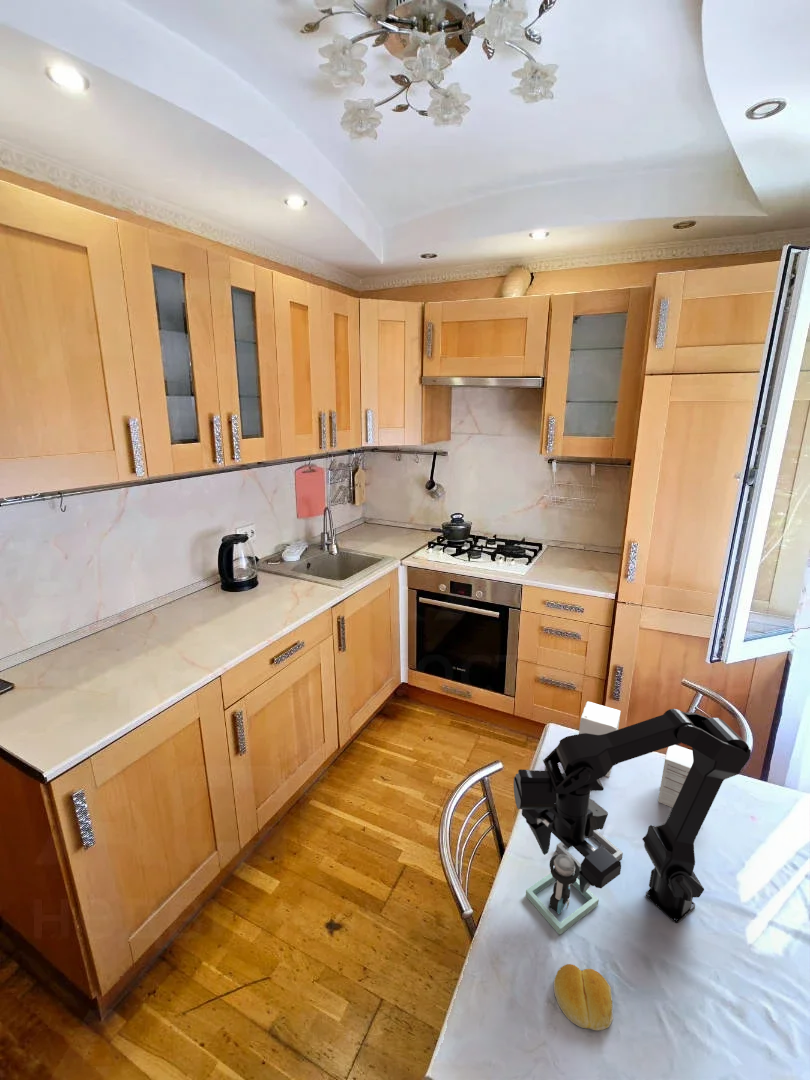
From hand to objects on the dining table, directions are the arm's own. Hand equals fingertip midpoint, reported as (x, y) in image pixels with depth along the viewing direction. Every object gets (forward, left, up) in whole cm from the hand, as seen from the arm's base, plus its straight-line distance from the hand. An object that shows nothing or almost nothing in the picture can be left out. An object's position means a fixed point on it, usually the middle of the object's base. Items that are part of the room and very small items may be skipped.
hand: (563, 871), depth 92 cm
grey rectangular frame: (+4, -13, -7) cm, 16 cm away
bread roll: (-13, +10, -8) cm, 18 cm away
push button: (0, 0, -7) cm, 7 cm away
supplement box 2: (+3, -44, -7) cm, 45 cm away
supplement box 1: (+22, -38, -7) cm, 45 cm away
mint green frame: (0, 0, -7) cm, 7 cm away
